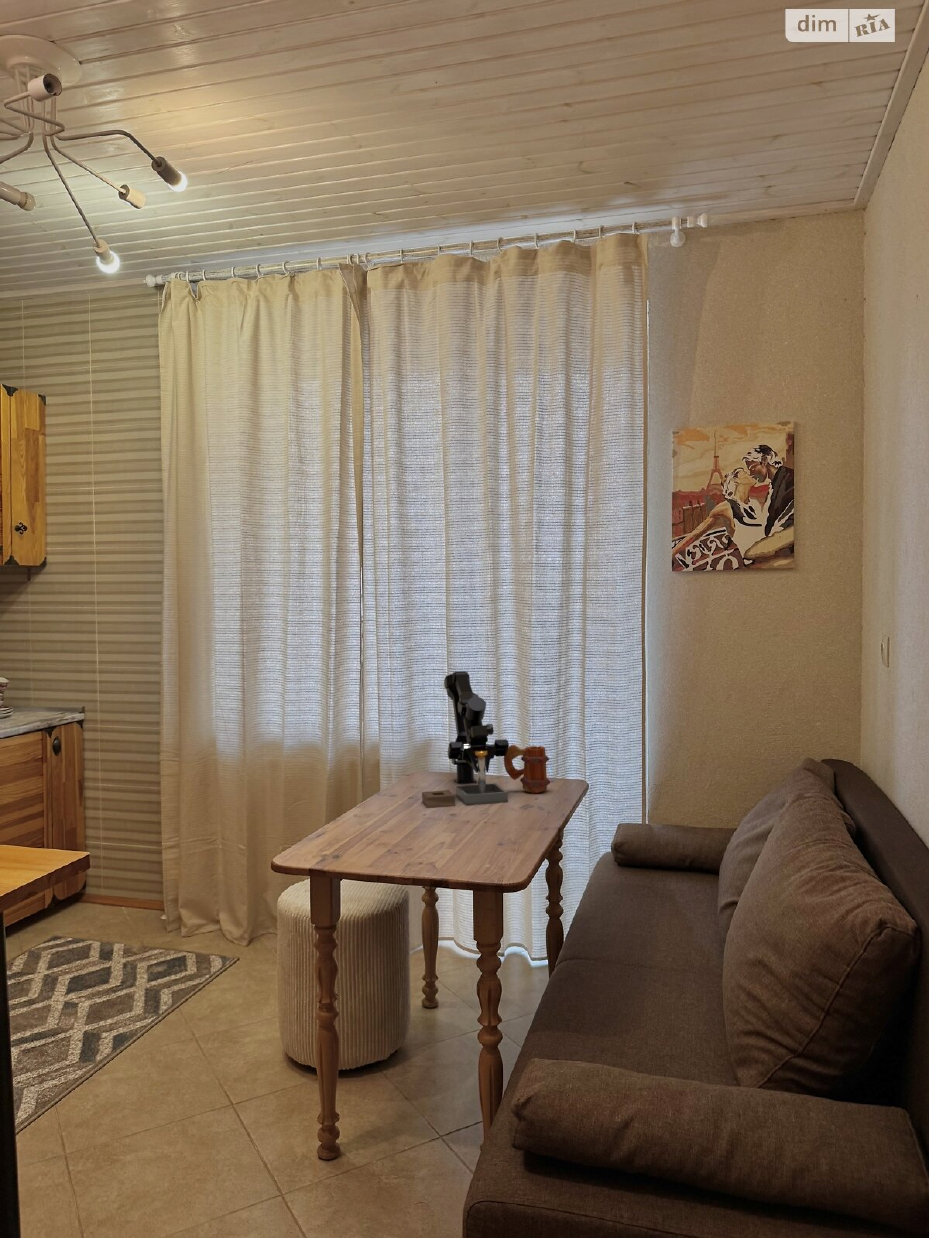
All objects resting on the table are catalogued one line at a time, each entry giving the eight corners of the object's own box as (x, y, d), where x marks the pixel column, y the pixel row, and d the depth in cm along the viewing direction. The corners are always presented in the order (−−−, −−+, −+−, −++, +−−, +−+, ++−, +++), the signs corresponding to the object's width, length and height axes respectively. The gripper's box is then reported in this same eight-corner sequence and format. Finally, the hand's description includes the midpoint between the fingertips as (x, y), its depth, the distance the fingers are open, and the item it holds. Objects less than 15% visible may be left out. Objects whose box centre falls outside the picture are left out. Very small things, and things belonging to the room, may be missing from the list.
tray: (455, 795, 287) (455, 786, 287) (495, 792, 290) (495, 783, 290) (466, 805, 274) (466, 795, 273) (507, 802, 277) (507, 792, 277)
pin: (473, 793, 281) (471, 751, 281) (482, 791, 284) (481, 749, 283) (481, 795, 278) (480, 752, 278) (491, 793, 281) (490, 750, 280)
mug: (550, 788, 294) (549, 742, 294) (550, 794, 286) (549, 746, 285) (505, 788, 295) (504, 742, 295) (503, 794, 287) (502, 747, 287)
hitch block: (422, 801, 280) (422, 791, 280) (448, 799, 282) (448, 789, 282) (427, 807, 272) (427, 797, 272) (455, 805, 274) (454, 795, 273)
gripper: (448, 716, 282) (455, 758, 272) (506, 713, 286) (516, 754, 275) (444, 737, 290) (451, 779, 280) (501, 734, 294) (510, 775, 283)
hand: (482, 771), depth 279 cm, fingers closed on pin, 3 cm apart
